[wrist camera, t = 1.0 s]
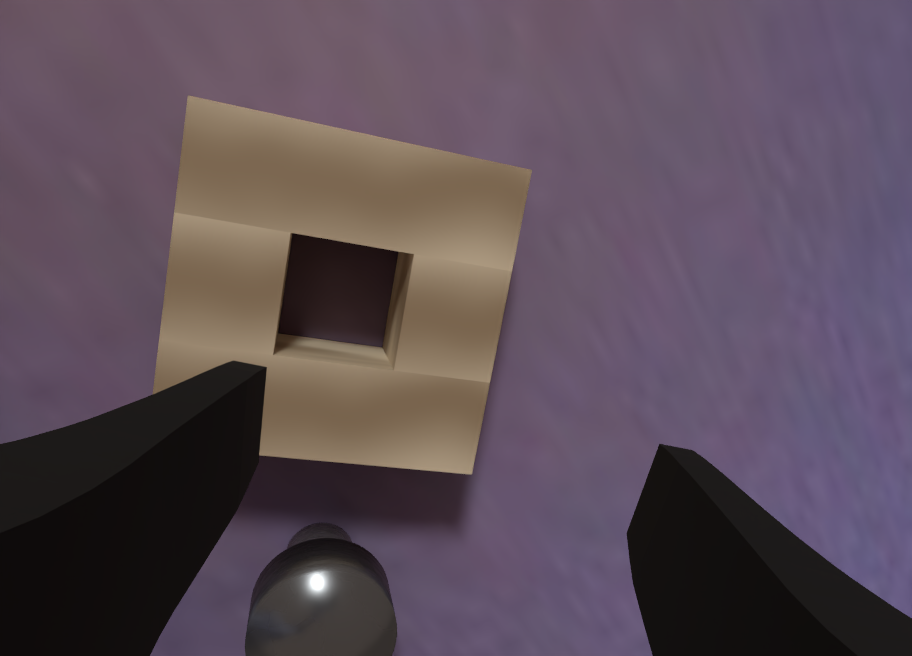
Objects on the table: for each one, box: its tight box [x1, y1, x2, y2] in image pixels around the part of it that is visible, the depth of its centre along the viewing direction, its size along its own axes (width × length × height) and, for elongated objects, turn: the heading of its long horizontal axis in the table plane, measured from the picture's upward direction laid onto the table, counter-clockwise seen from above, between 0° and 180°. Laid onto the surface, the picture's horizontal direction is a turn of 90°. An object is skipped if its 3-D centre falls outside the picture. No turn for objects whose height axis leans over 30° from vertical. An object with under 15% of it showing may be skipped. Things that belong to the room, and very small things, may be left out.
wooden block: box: [153, 96, 532, 475], centre depth 25 cm, size 12×12×4 cm
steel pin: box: [245, 523, 397, 656], centre depth 26 cm, size 5×5×6 cm
